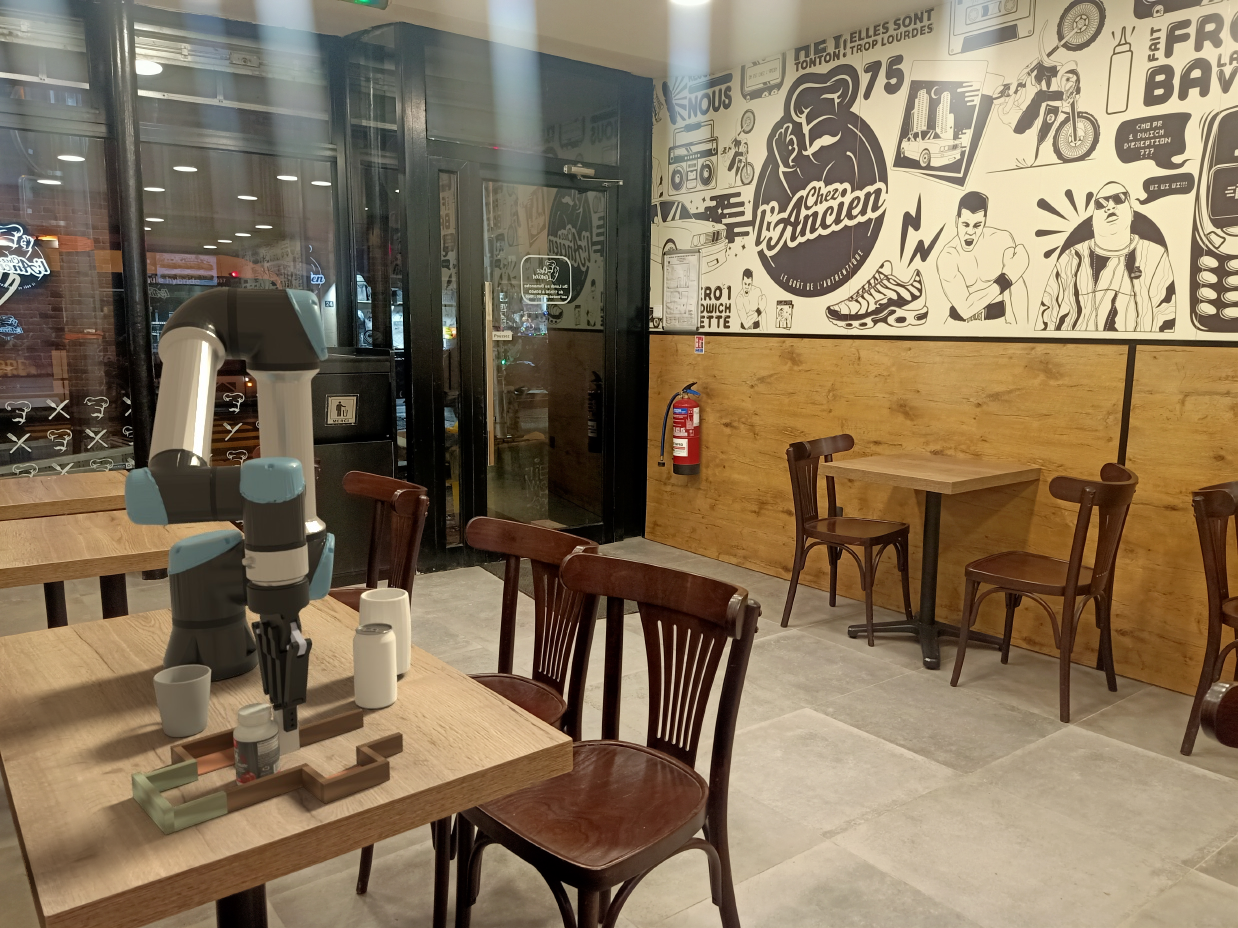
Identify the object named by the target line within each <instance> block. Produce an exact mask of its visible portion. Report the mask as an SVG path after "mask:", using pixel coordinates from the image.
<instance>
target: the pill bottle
mask: <svg viewBox="0 0 1238 928" xmlns="http://www.w3.org/2000/svg"><path fill="white" fill-rule="evenodd" d="M271 707H272V706H271V705H270V704H269V703H264V702H253V703H249V704H245V705H243V706H241V707H240V708H239V709H237V721H238V725H237V726H235V727H236V728H235V727H234V728H235V729H234V732H233V738H234V753H235V764H234V768H235V780H236V781H235V782H236V784H237V785H236V786H238V785H241V784H244V783H247V782H250V781H253V780H256V779H259V778H262V777H265V776H268V775H271V774H274V773H277V772H280V771H281V756H280V751H279V730H278V725H277V723H276V722H275V721H274V720H273V712H272V708H271Z"/></svg>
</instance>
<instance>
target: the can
mask: <svg viewBox="0 0 1238 928" xmlns="http://www.w3.org/2000/svg"><path fill="white" fill-rule="evenodd" d="M392 628H393V627H392V626H391V625H390V624H386V623H370V624H365V625H361V626H357V627H356V628H355V630H354V631H355V634H354V636H353V639H352V658H353V686H354V702H355V705H357V706H358V707H359V708H360V709H364V710H365V709H366V710H380V709H384V708H387V707H390V706H392V705H393V704H395V702H396V700H398V675H397V666H396V638H395V634H394V632H393V631H392Z"/></svg>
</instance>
